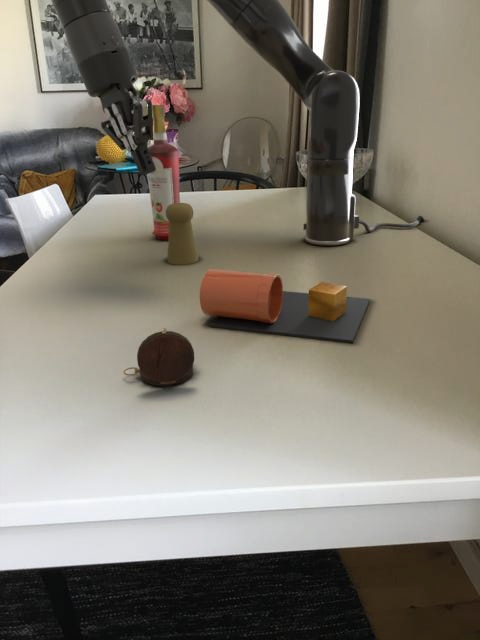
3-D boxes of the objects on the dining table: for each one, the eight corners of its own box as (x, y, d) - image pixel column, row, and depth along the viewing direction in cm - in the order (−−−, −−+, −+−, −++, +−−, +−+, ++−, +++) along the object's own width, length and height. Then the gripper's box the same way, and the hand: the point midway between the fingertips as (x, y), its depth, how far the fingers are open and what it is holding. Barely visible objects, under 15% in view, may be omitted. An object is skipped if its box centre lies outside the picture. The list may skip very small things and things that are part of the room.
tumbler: (212, 259, 81) (279, 264, 78) (222, 293, 86) (285, 300, 82) (195, 290, 77) (264, 297, 73) (206, 324, 81) (271, 333, 78)
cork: (193, 265, 107) (189, 206, 103) (163, 264, 108) (158, 206, 104) (202, 256, 112) (198, 200, 108) (172, 255, 114) (168, 200, 109)
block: (321, 281, 82) (321, 307, 84) (308, 289, 79) (308, 316, 81) (347, 286, 80) (345, 312, 81) (334, 294, 77) (333, 321, 78)
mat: (209, 326, 79) (208, 324, 79) (246, 290, 93) (246, 287, 93) (352, 343, 73) (352, 340, 72) (369, 301, 86) (370, 298, 86)
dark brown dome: (190, 360, 69) (186, 304, 67) (197, 391, 62) (193, 330, 59) (124, 366, 68) (117, 310, 66) (123, 399, 61) (115, 337, 58)
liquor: (145, 240, 126) (132, 105, 115) (162, 232, 132) (151, 104, 121) (175, 242, 123) (164, 105, 112) (190, 234, 129) (181, 103, 119)
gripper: (61, 75, 84) (109, 187, 89) (96, 44, 73) (149, 174, 78) (104, 63, 87) (148, 172, 93) (143, 33, 77) (190, 157, 82)
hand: (148, 173), depth 86 cm, fingers closed
